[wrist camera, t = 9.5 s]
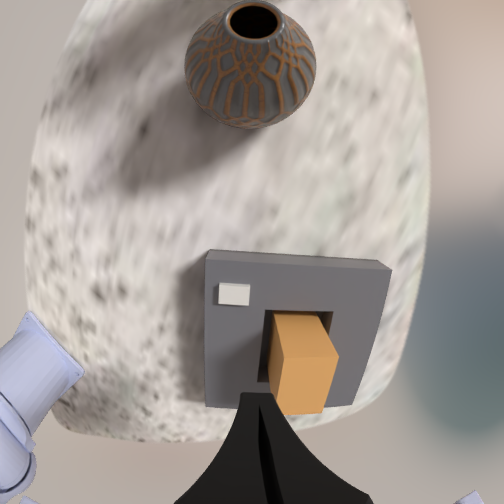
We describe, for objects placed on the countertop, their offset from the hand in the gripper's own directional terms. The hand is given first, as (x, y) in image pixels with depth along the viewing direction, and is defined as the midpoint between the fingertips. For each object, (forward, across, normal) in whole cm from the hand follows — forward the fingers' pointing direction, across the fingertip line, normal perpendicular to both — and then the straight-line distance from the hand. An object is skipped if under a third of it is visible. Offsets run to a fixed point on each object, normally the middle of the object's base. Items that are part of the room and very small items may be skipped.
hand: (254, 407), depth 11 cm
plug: (+9, -3, +1) cm, 10 cm away
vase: (+10, +1, -16) cm, 18 cm away
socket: (+9, -3, +1) cm, 10 cm away
